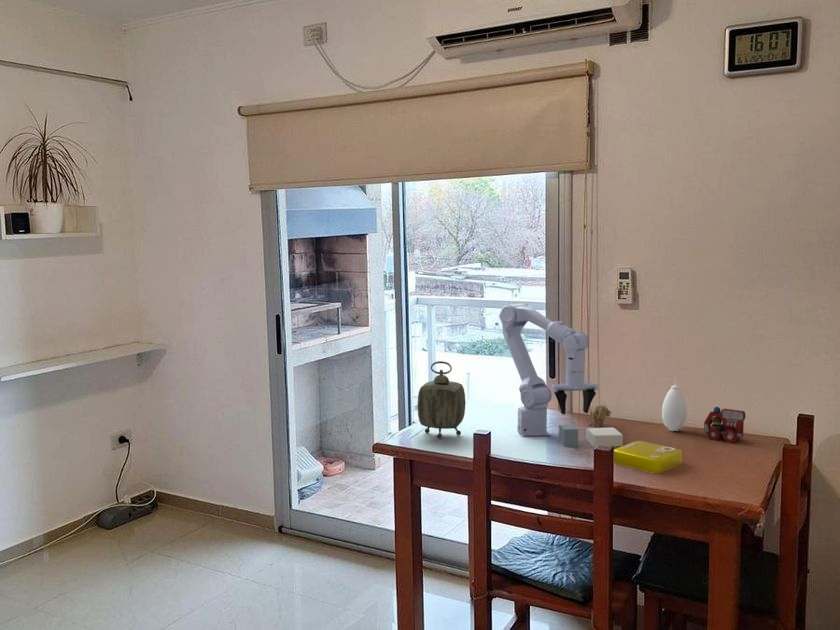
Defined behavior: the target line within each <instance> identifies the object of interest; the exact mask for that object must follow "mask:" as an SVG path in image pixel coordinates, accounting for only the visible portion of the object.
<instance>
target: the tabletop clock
mask: <svg viewBox="0 0 840 630" xmlns="http://www.w3.org/2000/svg"><path fill="white" fill-rule="evenodd" d="M436 364H443V365H447V366H448V367H450V369H449V370H448V371H444V370H443V369H440V370H439V371H436V370H434V369H433V367H434V366H435V365H436ZM430 370H431V371H432V372H433V373H435V374H437V375H436V376H435V377H433V378H434V379H433V380H431V381H427V382H425V383H423V384H422V386H421V387H420V388H419V391H418V395H417V405H416V406H417V407H416V408H417V416H418V420H419V423H420V425H421V426H424V427H427V428H425V429H424V432H425V434H428V433H430V432H431V430H430V429H431V428H433V429H438V433H437V435H436V436H437V439H442V437H443V435H442V434H443V433H442V430H443V429H446V430H447V429H448V430H449V429H454V430H455V433H456V435H457V436H461V435H462V432H461V431H460V430H459V429H458V428H457V427H459V426H460V424H461V423H462V422H463V420H464V418H465V414H466V393H465V389H464V386H463V384H461V383H459V382H457V381H452V380H451V381H450V379H449V378H448V376H446V375H447V374H449V373H451V372H452V370H453V367H452V365H451V364H450V363H449V362H447V361H441V360H439V361H434V362H433V363H432V364H431V366H430Z"/></svg>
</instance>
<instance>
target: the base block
mask: <svg viewBox="0 0 840 630" xmlns="http://www.w3.org/2000/svg"><path fill="white" fill-rule="evenodd" d="M585 430H586V431H585V440H586V441H587V442H588V443H589V444H590V445H591V446H592V447H594V448H597V447H596V446H598V445H608V446H614V447H613V448H617V447H616V446H624V443H623V440H624V435H623V434H622V433H621V431H618V430H617V429H616V428H615V427H603V428H600V427H597V428H594V427H586V428H585Z"/></svg>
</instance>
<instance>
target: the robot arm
mask: <svg viewBox="0 0 840 630" xmlns="http://www.w3.org/2000/svg"><path fill="white" fill-rule="evenodd" d="M499 312H500V313H499V315H498V316H499V317H498V318H499V320H500V322H501V324H502V325H501V326H502V335H503V337H504V340H505V342H506V345H507V348H508V350H509V352H510V353H509V354H510V355H511V358H512V360H513V362H514V365H515V369H516V370H517V373H518V375H519V378H520V381H521V383H520V385H519V388H518V390H519V393H520V401H521V403H522V405H523V406H522V407H521V406H519V407H518V409H517V429H516V430H517V431H518V433H519V435H521V436H522V437H532V436H534V437H535V436H536V437H539V436H551V433H550V432H549V431H548V430H547V428H548V425H547V423H548V422H547V421H548V419H547V418H548V406H549V403H550V402H551V400H552V397H553V396H552V393H553V394H554V396H555V397H556V399H557V402H558V405H559V406H558V407H559V411H560V414H562V415H566V412H567V411H566V408H567V407H566V405H567V403H566V401H567V399H568V398H567V397H568V394H567V393H566V392H575V391H576V392H579V391H581V392H582V400H583V401H582V402H583V403H582V405H583V406H582V410H583V411H582V412H583V413H584V414H588V413H589V411H590V406H591V404H592V402H593V400H594V398H595V396H596V395H597V392H596V391H598V390H599V389H598V388H599V386H598V384H597V383H595V382H592V383H591V382H585V370H586V368H585V366H586V365H585V364H586V363H585V362H586V349H587V348H589V344H590V340H589V337H588V335H587V334H585V332H583V331H579V332H577V331H576V330H575V329H574V328H570V327H568V326H567V325H565V324H564V323H565V322H564V321H562V320H560V321H559V320H555V321H552V320H551V319H549V318H547V317H546V316H545V315H543V314H542V313H541V312H539V311H537V310H536V309H534V307H533V306H532V305H529V304H528V303H527V302H522V303H515V304H514V303H513V304H505V305H503V306H502V308H501V310H500V311H499ZM528 322H529V323H532V324H533V325H535V326H537V327H539V328H540V329H543V330H545V331H546V332H547V336H548V337H550V338H551V339H552V340H554V341H555V342H557V343H559V344H560V345H562V346H563V349H564V351H565V356H566V359H565V360H566V361H565V362H566V365H565V383H561V384H560V383H558V384H552V385H551V389H550V387H549V386H548V385H547V384H546V382H545V380H544V379H543V378H541V377H540V376H538V373H537V371H536V369H535V366H534V364H533V362H532V360H531V359H532V358H531V357H530V354H529V351H528V349H527V347H526V345H525V342H524V340H523V336H522V335H521V332H522V330H523V328H524V327H525V326H526V325H527V323H528Z"/></svg>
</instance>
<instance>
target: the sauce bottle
mask: <svg viewBox="0 0 840 630" xmlns="http://www.w3.org/2000/svg"><path fill="white" fill-rule="evenodd" d="M687 416H688V407H687V402H686V399H685V396H684V394H683V391H682V390H681V389H680V386H679V385H677V379H676V377H675V379H674V384H673V385H671V386H670V389H669V391H667V393H666V395H665V397H664V400H663V402H662V407H661V417H662V421H663V424H664V426H665V427H666V428H667V429H668V431H671V432H673V431H676V432H677V431H680V430H681V429H682V428H683V427H684V425H685V423H686V421H687Z"/></svg>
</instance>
